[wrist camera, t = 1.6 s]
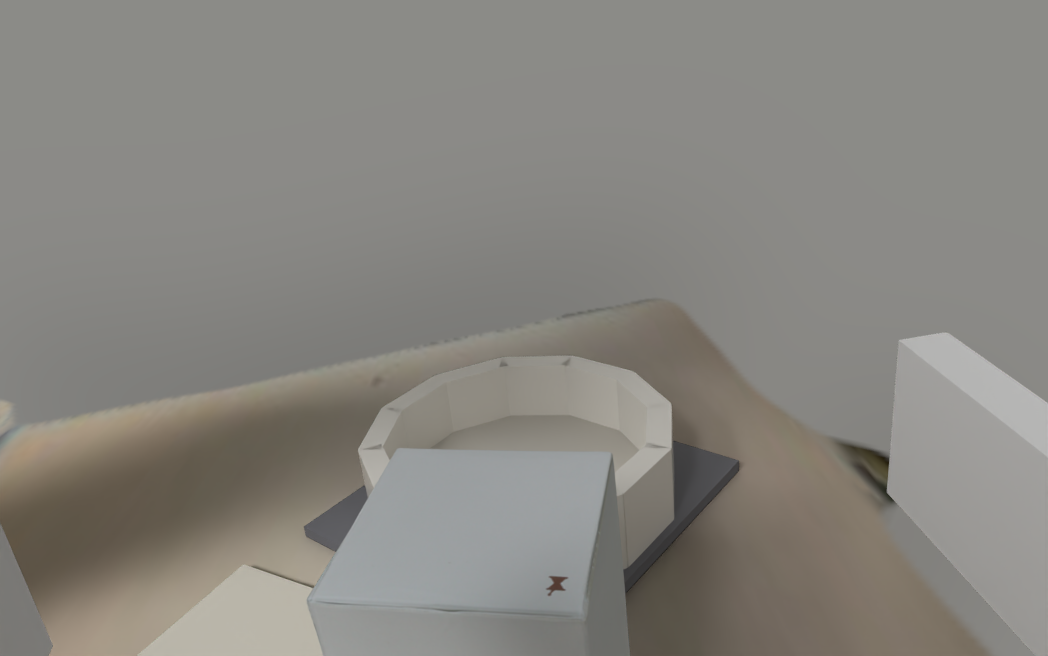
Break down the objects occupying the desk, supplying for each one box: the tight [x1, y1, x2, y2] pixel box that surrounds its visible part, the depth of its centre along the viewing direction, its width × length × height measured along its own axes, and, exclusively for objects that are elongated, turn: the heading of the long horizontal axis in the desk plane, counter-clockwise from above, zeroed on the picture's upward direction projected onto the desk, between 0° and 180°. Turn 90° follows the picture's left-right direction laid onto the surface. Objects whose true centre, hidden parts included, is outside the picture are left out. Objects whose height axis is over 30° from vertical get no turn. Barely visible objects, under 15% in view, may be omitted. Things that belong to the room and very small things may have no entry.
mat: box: [304, 441, 739, 593], centre depth 46 cm, size 16×16×1 cm
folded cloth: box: [137, 564, 323, 656], centre depth 39 cm, size 10×7×1 cm
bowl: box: [358, 355, 674, 569], centre depth 45 cm, size 15×15×4 cm
